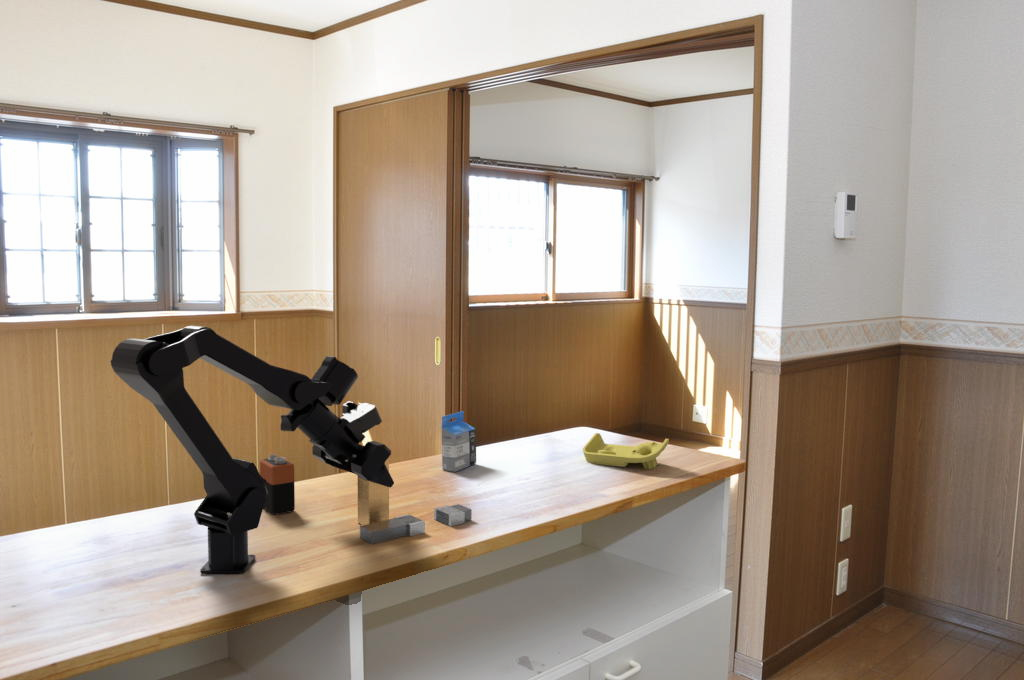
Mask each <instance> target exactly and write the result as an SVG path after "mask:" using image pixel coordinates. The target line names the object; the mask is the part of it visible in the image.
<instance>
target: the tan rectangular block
mask: <svg viewBox="0 0 1024 680" xmlns="http://www.w3.org/2000/svg"><path fill="white" fill-rule="evenodd" d="M385 465H386V467H387V469H388V471H389V472H390V458H388V459H387V460H386V461H385ZM385 520H390V487H387V486H383V485H380V484H377V483H374V482H370V481H367V480H364V479H362V478H359V477H358V476H357V524H358V523H360V524H361V525H360V524H359V525H360V526H362V525H367V524H372V523H376V522H381V521H385Z"/></svg>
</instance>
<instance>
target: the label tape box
mask: <svg viewBox="0 0 1024 680" xmlns="http://www.w3.org/2000/svg"><path fill="white" fill-rule="evenodd" d="M464 413H465V411H464V410H461V411H459V412H458V411H457V412H454V413H450V414H447V415H444V416H442V417H441V459H442V460H441V461H442V462H441V463H442V464H441V466H442V471H447V472H455V473H456V472H458V471H460V470H463V469H466V468H469V467H471V466H474V465H476V464H477V433H476V428H475V427H473V426H472V425H470V424H468V423H466V422H465V421H464ZM452 419H455V420H452ZM450 420H452V421H450Z"/></svg>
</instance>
